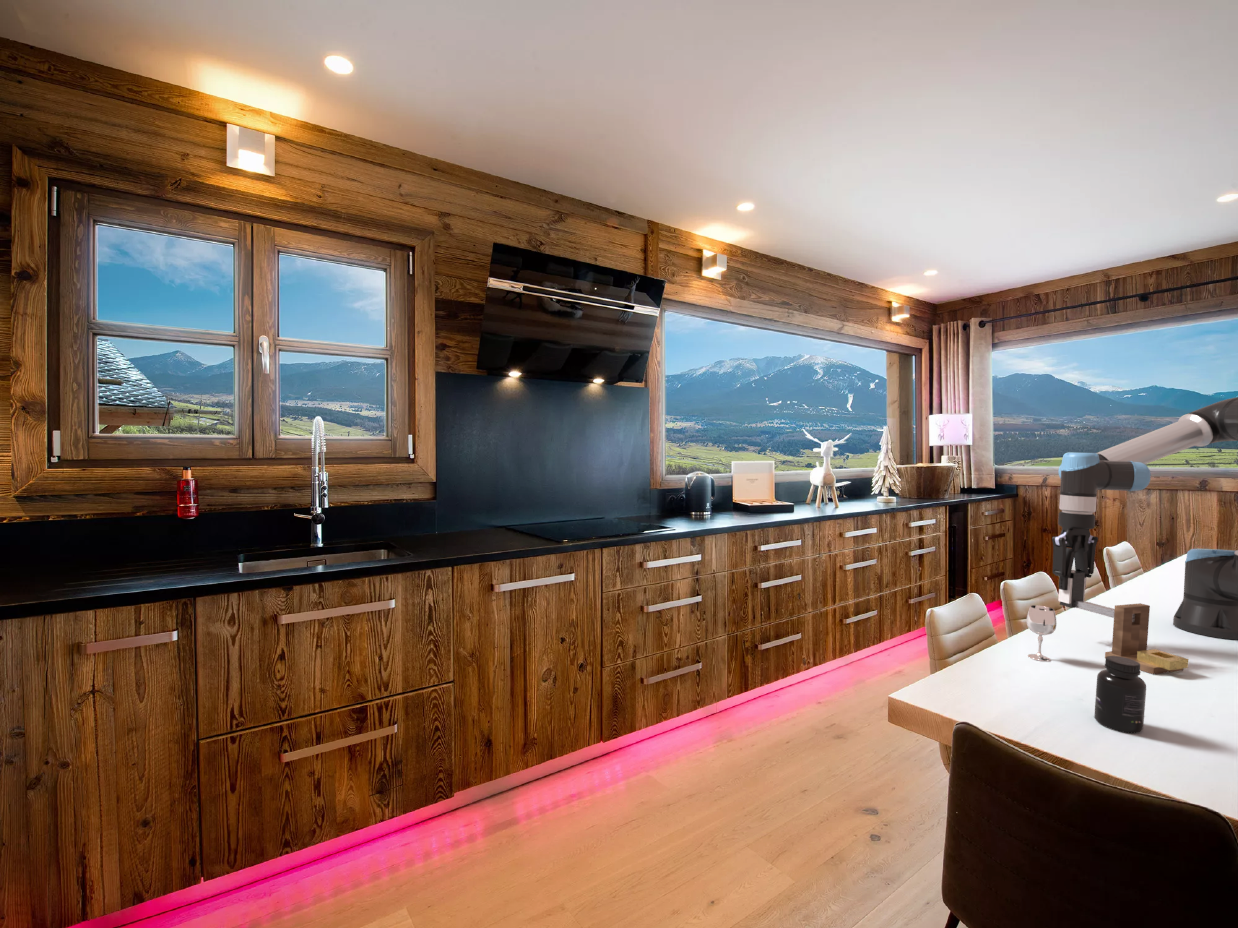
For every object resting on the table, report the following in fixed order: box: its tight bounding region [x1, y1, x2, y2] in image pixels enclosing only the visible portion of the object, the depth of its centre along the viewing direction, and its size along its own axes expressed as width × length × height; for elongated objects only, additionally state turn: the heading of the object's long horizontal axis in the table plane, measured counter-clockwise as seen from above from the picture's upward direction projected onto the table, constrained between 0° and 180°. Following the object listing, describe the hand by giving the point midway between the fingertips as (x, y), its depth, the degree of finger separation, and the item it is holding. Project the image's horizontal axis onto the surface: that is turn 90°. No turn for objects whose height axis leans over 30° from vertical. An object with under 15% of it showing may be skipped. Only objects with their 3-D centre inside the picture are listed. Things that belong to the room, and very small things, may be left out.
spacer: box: [1137, 648, 1189, 670], centre depth 135 cm, size 2×6×6 cm
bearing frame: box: [1104, 603, 1184, 676], centre depth 139 cm, size 10×10×13 cm
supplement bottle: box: [1093, 656, 1147, 734], centre depth 107 cm, size 7×7×12 cm
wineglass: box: [1026, 604, 1058, 662], centre depth 141 cm, size 6×6×12 cm
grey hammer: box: [1059, 569, 1135, 622], centre depth 148 cm, size 16×4×9 cm, turn 18°
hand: (1071, 601), depth 154 cm, fingers closed on grey hammer, 4 cm apart
